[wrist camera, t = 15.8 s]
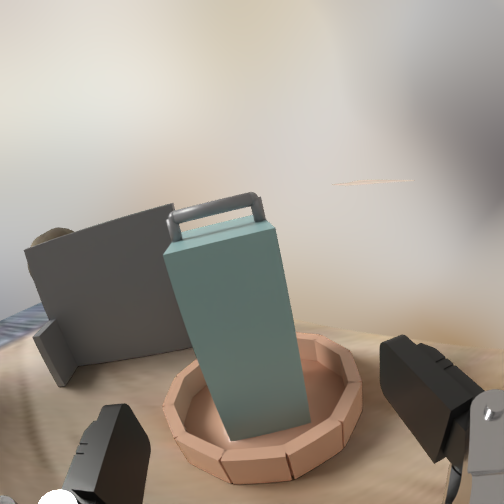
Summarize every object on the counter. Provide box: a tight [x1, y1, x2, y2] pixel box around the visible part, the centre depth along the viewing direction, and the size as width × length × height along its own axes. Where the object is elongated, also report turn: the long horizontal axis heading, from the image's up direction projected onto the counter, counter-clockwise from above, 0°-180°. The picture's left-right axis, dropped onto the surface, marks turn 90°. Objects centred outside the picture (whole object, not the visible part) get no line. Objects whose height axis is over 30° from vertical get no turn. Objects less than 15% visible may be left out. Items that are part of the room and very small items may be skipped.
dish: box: [162, 332, 362, 484], centre depth 19 cm, size 13×13×2 cm
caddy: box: [163, 192, 311, 441], centre depth 17 cm, size 6×5×14 cm
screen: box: [24, 203, 193, 387], centre depth 26 cm, size 5×17×14 cm, turn 96°
